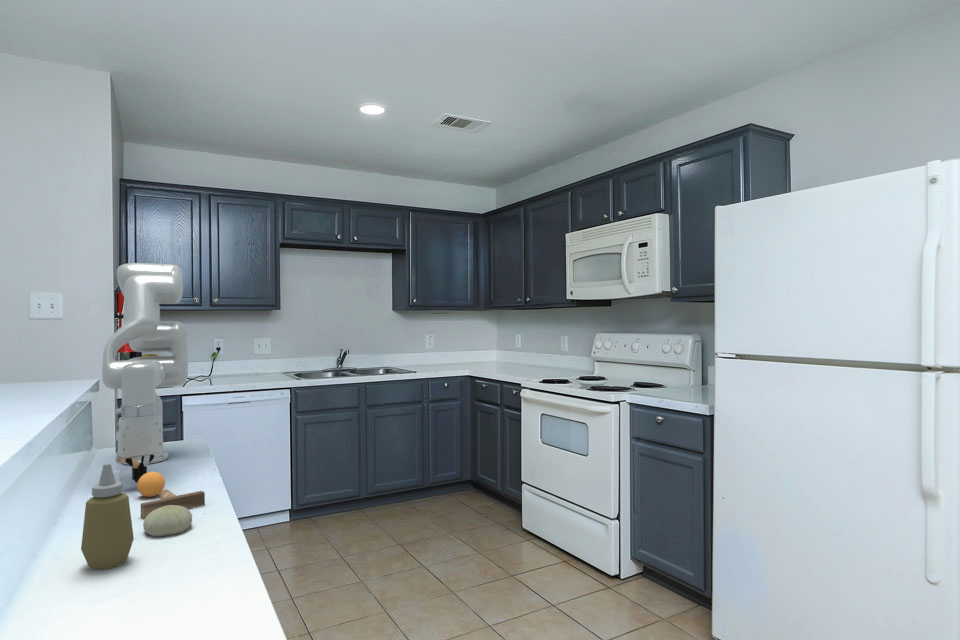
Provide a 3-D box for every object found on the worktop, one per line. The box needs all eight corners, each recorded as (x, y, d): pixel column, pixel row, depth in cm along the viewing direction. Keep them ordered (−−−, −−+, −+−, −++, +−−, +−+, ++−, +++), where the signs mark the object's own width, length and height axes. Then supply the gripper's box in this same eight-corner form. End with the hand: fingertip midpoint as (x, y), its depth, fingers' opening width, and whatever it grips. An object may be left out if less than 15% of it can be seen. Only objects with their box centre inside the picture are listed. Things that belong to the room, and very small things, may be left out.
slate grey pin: (108, 507, 138) (108, 470, 138) (120, 505, 139) (120, 469, 139) (107, 510, 136) (106, 473, 136) (119, 508, 137) (118, 472, 137)
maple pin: (170, 488, 145) (182, 496, 139) (169, 498, 145) (182, 506, 138) (159, 490, 143) (171, 498, 137) (159, 500, 143) (171, 508, 137)
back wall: (140, 516, 131) (140, 503, 131) (201, 503, 140) (201, 490, 140) (143, 519, 130) (143, 505, 130) (204, 505, 139) (204, 492, 139)
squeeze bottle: (95, 577, 101) (94, 473, 101) (72, 567, 106) (71, 466, 105) (143, 560, 108) (142, 462, 108) (119, 551, 112) (118, 457, 112)
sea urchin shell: (203, 513, 129) (188, 495, 123) (189, 549, 123) (172, 532, 117) (164, 511, 129) (146, 493, 124) (147, 547, 124) (128, 530, 118)
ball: (149, 492, 141) (144, 506, 144) (172, 479, 146) (167, 493, 149) (134, 474, 142) (129, 488, 145) (157, 462, 147) (152, 476, 150)
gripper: (109, 416, 144) (110, 491, 145) (175, 409, 155) (175, 478, 155) (101, 412, 150) (102, 485, 150) (165, 405, 160) (165, 473, 161)
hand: (139, 481), depth 153 cm, fingers closed
